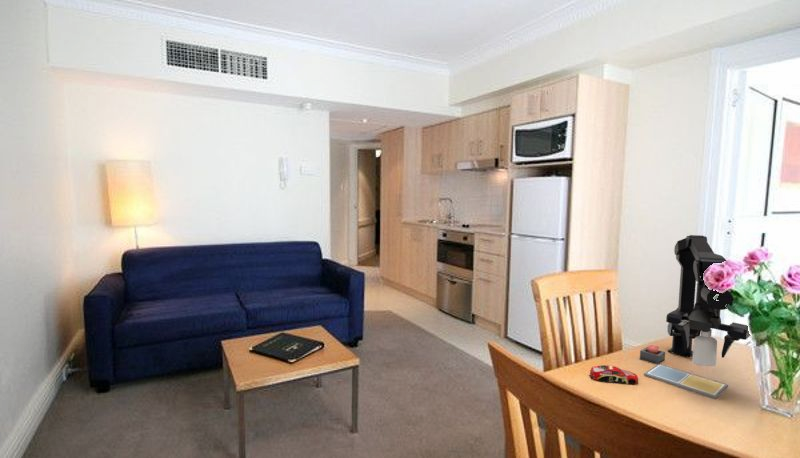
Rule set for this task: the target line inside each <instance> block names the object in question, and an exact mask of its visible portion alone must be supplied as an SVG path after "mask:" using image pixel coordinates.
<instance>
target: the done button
mask: <svg viewBox="0 0 800 458" xmlns="http://www.w3.org/2000/svg"><path fill="white" fill-rule="evenodd" d="M646 347H647V352H649V353H653V354H658V350H660V349H659V347H658V346H657V345H654V344H653V345H652V344H649V345H646Z"/></svg>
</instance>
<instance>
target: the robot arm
mask: <svg viewBox="0 0 800 458" xmlns="http://www.w3.org/2000/svg"><path fill="white" fill-rule="evenodd" d="M673 248H674V249H673V251H674V255H675V259H676V261H677V262H678V264H679V266H680V278H679V290H678V291H679V292H678V304H677V306H678V307H677V308H676V309H675V310H672V311H671V312H669V313H667V314H666V320H665V322H666V323H668V324H667V334H668V335H669V336H670V337H672V342H671V343H672V344H671V347H670V348H669V349H668V350H667V352H668V353H670V354H675V355H679V356H683V357H685V358H691V357H693V340H694V339H695V337H697V336H700V335H701V331H702V332H709V331H710V329H711V330H712V329H714V330H719V331H723V332H726V333H727V334H725V335H724V337H723V338H724V341H723V345H722V350H721V358H722V359H724V358H725V357H726V355H727V353H728V351H729V350H730V348H731V347H732V344H734V342H735V341H736V342H738V341H740V340H744V341H745V340H748V338H750V337H751V335H750V334H749V331H748V326H749V325H748V324H742V323H737V322H732V323H731V324H725V323H722V319H721V311H724V310H727V308H726V307H725V305H726V304H727V305H728V304H729V305H730V306H732V305H733V304H734V301H735V299H734V297H733V294H732V293H731V292H730V291H729V290H727V291H726V292H725V293H723V294H722V293H719V292H717V291H716V290H715V291H713V289H712V290H709V289H708V287H707V286H706V285H705V283H704V280H703V273H704V271H705V270H706V269H707V268H708V267H709V266H710V265H712V264H713V263H722V262H724V261H727V259H726V258H725V257H724V256H722V255H720V254H717V253H715V252H714V251H713V249H712V247H711V245H710V244H709V243H708V237H707V236H705V235H701V234H700V235H699V234H697V235H696V234H695V235H694V234H689V235H687V236H686V237H685V238H683V239H680V240H677V241H676V243H675V245H674V247H673ZM696 282H697V283H696ZM716 294H719V296H718V298H717V300H719V301H716V299H715V300H714V299H713V297H714V296H715V295H716ZM747 325H748V326H747Z"/></svg>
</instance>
